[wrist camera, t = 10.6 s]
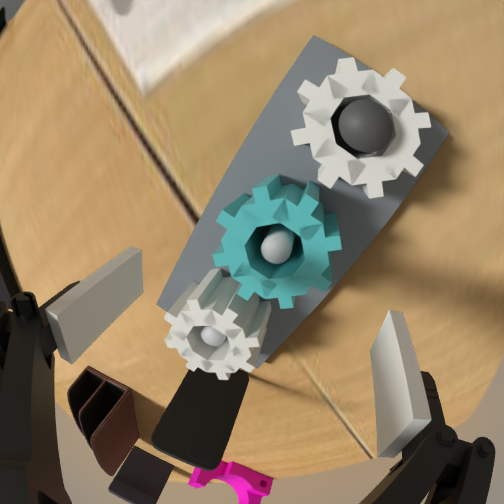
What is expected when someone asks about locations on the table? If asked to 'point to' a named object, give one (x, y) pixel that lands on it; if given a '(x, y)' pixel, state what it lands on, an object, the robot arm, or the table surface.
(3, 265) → the black book
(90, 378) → the letter holder
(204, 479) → the magenta mounting bracket
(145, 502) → the calculator
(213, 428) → the phone
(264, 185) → the teal gear
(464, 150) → the table surface
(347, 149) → the gear board
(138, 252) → the robot arm
